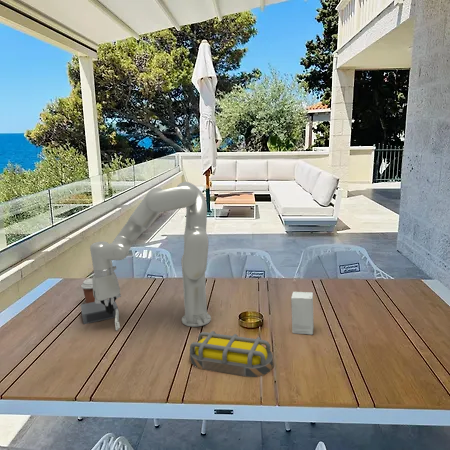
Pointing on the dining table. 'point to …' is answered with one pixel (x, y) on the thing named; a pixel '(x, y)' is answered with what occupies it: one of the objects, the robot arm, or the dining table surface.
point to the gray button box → (96, 312)
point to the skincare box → (302, 312)
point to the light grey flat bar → (117, 319)
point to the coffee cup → (88, 290)
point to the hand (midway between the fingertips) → (110, 313)
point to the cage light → (231, 354)
